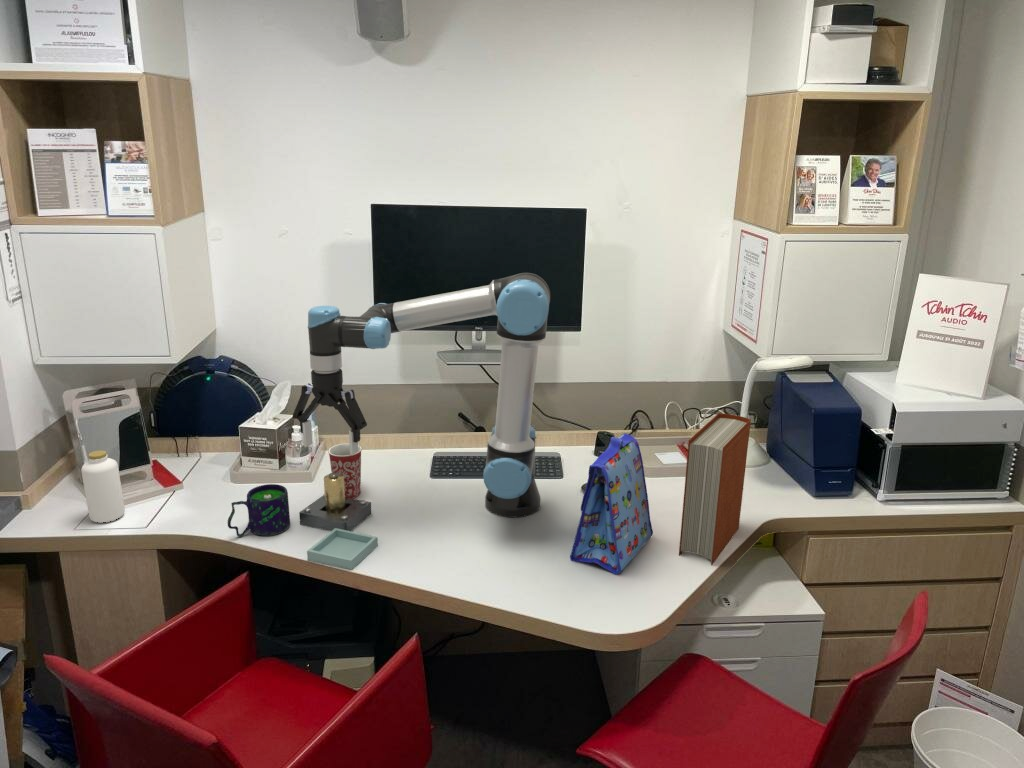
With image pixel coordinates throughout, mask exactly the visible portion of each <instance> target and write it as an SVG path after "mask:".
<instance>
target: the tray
mask: <svg viewBox="0 0 1024 768" xmlns="http://www.w3.org/2000/svg"><path fill="white" fill-rule="evenodd" d="M378 540H379V539H378V536H375V535H371V534H365V533H361V532H355V531H347V530H342V529H337V528H335V529H334V530H332V531H329V533H328V534H326V535H325V536H324V537H322V538H321V539H320V540H319V541H317V542H316V543H314V544H313V545H312V546H311V547H310V548H308V549H307V551H306V558H307V561H311V562H316V563H318V564H319V563H320V564H325V565H329V566H333V567H338V568H342V569H345V570H350V571H352V570H353V569H355V567H356V566H358V565H359V564H360V563H361V562H362V561H363V560H364V559H365V558H366V557H367V556H369V555H370V554H371V552H372V551H374V550H375V549H376V548H377V547H378V546H379V541H378Z"/></svg>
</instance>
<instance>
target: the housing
mask: <svg viewBox="0 0 1024 768" xmlns="http://www.w3.org/2000/svg"><path fill="white" fill-rule="evenodd" d="M345 508H346V509H345V510H344V511H343V512H341V513H340V514H336V513H331V512H326V504H325V493H324V494H323V495H322V496H320V497H319V498H318V499H316V500H314V501H313V502H312V503H311V504H309V505H307V506H306V507H305V508H303V509H302V510H300V512H298V513H299V515H298V517H299V525H300V526H304V527H308V528H309V527H310V528H315V529H320V530H323V531H328V532H331V531H332V530H334V529H335V528H337V529H342V530H347V531H351V532H353V530H354V529H356V528H357V527H359V525H360V524H361V523H363V522H365V520H366V519H368V518H369V517H370V516H371V515H372V502H371V501H368V500H366V499H355V498H347V497H345Z"/></svg>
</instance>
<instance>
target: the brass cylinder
mask: <svg viewBox="0 0 1024 768" xmlns="http://www.w3.org/2000/svg"><path fill="white" fill-rule="evenodd" d="M323 489H324V490H323V491H324V494H325V504H326V512H331V513H336V514H340V513H341V512H343V511H344V510H345V509H346V508H345V492H344V476H343V475H342V474H338V473H332V472H331V473H328V474H326V475H325V476H324V477H323Z"/></svg>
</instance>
